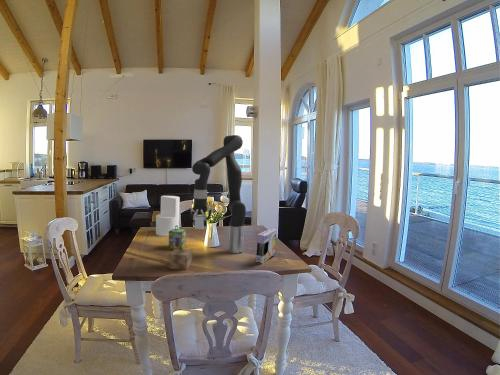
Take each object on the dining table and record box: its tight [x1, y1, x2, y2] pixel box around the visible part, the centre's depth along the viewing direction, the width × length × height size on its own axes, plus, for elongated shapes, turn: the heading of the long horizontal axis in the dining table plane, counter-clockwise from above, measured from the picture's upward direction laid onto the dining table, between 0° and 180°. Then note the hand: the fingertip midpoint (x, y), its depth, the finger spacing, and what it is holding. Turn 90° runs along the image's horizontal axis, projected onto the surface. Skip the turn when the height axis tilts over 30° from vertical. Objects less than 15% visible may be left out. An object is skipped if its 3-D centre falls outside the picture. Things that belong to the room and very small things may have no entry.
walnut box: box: [168, 249, 193, 271], centre depth 180 cm, size 10×10×8 cm
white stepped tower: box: [155, 195, 180, 237], centre depth 248 cm, size 17×17×28 cm
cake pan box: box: [255, 228, 278, 263], centre depth 197 cm, size 19×5×18 cm, turn 151°
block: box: [194, 215, 206, 230], centre depth 187 cm, size 5×5×7 cm
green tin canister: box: [168, 225, 187, 250], centre depth 214 cm, size 9×9×15 cm
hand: (199, 226), depth 188 cm, fingers closed on block, 5 cm apart
